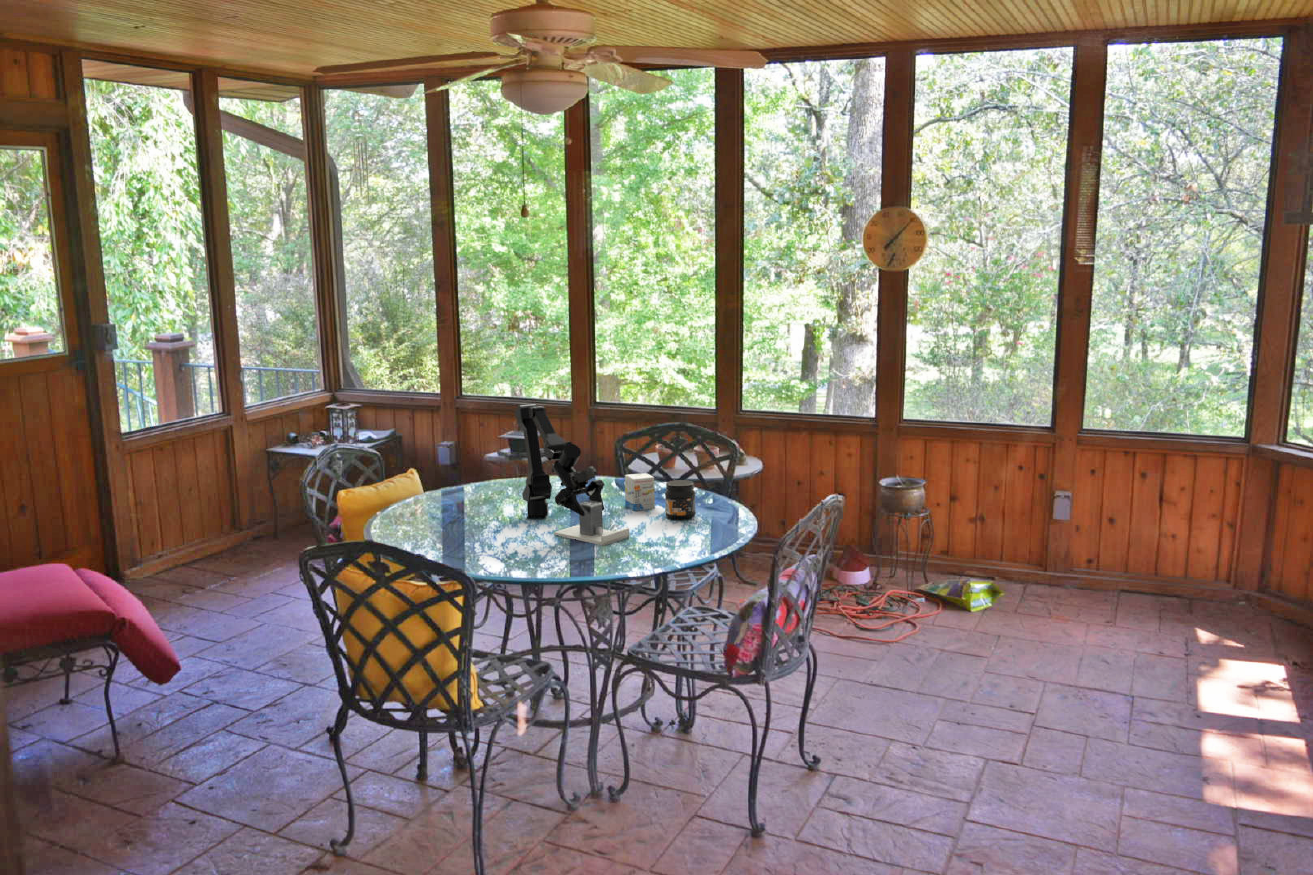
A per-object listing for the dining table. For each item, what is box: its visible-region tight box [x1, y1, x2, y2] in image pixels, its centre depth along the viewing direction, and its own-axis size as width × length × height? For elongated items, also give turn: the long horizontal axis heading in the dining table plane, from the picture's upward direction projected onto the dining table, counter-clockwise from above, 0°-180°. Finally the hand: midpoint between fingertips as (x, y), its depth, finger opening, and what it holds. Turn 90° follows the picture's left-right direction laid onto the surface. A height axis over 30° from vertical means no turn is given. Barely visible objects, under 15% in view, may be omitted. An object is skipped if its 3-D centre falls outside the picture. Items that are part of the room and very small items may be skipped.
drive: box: [578, 500, 604, 536], centre depth 345 cm, size 5×6×10 cm
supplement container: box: [664, 479, 697, 521], centre depth 368 cm, size 10×10×12 cm
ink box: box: [624, 472, 656, 512], centre depth 383 cm, size 9×8×12 cm
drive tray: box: [553, 523, 630, 547], centre depth 346 cm, size 22×12×4 cm, turn 51°
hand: (593, 512), depth 344 cm, fingers open, 9 cm apart
